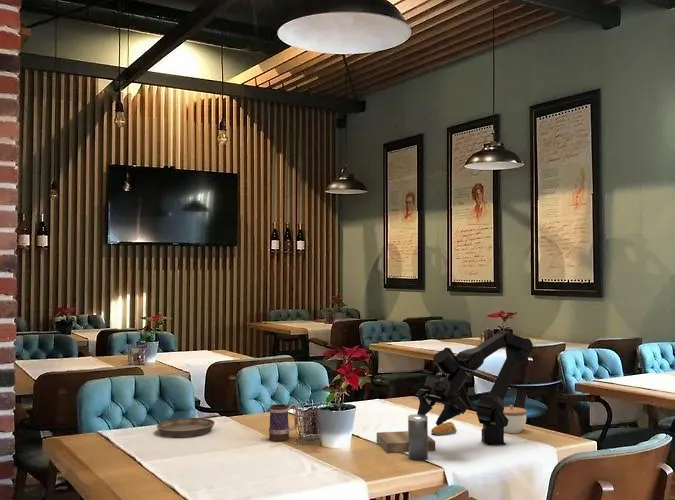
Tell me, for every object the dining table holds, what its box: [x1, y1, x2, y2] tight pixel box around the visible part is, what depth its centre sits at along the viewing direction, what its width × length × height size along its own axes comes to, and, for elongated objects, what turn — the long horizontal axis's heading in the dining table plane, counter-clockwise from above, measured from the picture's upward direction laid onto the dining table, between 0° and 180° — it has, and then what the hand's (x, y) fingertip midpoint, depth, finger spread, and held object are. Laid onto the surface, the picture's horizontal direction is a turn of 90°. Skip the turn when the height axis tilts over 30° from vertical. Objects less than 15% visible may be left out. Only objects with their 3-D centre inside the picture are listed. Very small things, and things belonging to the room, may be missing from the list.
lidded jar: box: [503, 404, 528, 434], centre depth 267 cm, size 11×11×9 cm
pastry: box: [430, 421, 458, 436], centre depth 264 cm, size 9×7×4 cm
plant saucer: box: [156, 417, 216, 438], centre depth 269 cm, size 21×21×3 cm
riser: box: [376, 430, 436, 454], centre depth 246 cm, size 16×16×3 cm
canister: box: [407, 414, 429, 462], centre depth 230 cm, size 6×6×13 cm
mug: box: [268, 403, 299, 443], centre depth 256 cm, size 10×7×12 cm
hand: (426, 421), depth 232 cm, fingers open, 9 cm apart
